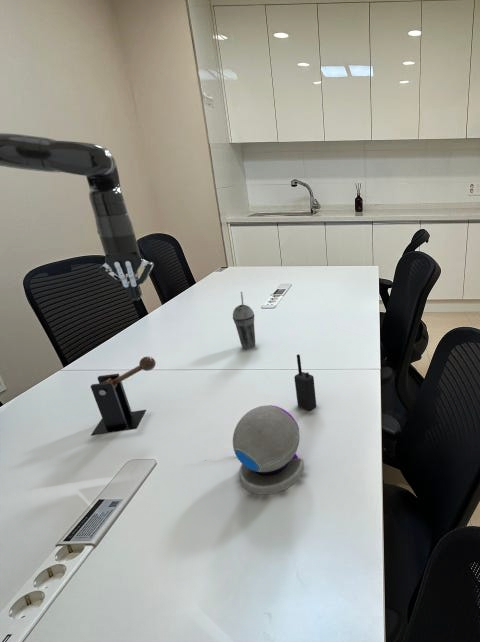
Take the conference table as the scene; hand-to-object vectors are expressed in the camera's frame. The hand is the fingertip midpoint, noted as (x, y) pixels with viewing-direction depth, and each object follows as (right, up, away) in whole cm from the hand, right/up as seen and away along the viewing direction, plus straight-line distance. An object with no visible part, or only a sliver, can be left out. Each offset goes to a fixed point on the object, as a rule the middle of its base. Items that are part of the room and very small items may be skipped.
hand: (135, 299), depth 103 cm
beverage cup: (+19, -14, +35) cm, 42 cm away
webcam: (+42, -38, -22) cm, 61 cm away
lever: (+5, -20, -10) cm, 23 cm away
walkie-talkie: (+46, -29, 0) cm, 54 cm away
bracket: (0, -32, -6) cm, 33 cm away
